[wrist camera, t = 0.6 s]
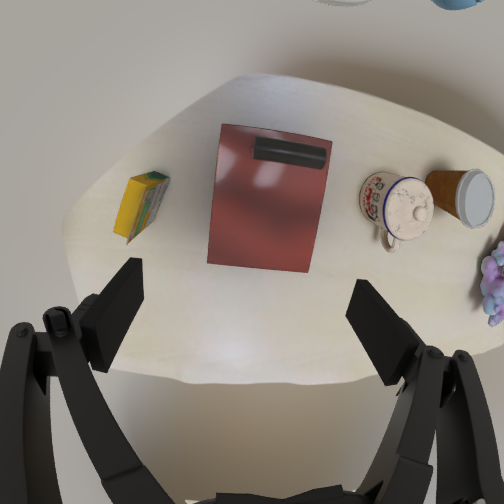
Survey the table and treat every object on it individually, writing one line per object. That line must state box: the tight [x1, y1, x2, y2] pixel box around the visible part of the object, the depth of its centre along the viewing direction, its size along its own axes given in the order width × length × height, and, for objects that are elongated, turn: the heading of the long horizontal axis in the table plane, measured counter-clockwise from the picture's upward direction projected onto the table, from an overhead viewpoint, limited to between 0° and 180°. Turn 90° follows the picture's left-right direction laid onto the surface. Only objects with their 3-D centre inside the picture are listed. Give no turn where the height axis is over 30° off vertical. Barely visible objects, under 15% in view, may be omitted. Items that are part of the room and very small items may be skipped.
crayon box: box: [113, 171, 170, 245], centre depth 34 cm, size 7×3×12 cm, turn 154°
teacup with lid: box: [360, 173, 434, 253], centre depth 36 cm, size 12×9×12 cm
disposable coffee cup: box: [425, 169, 495, 229], centre depth 35 cm, size 10×10×12 cm
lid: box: [207, 124, 332, 273], centre depth 27 cm, size 16×13×9 cm
